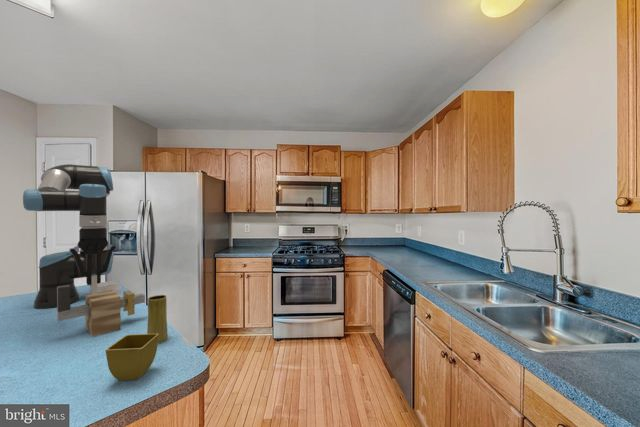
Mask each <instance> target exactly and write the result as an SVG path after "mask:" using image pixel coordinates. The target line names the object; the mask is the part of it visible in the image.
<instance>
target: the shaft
mask: <svg viewBox="0 0 640 427" xmlns="http://www.w3.org/2000/svg"><path fill="white" fill-rule="evenodd" d="M145 299H146V296H145V294H144V293H139V294H134V300H135V306H136V305H139V304H145V302H146V300H145ZM126 306H128V299H127V298H125V297H123V296H122V297H120V309H121V308H123V307H126ZM86 315H90V305H89V304H86V303H85V304H82V305H77V306H71V304H70V285H63V286H57V307H56V317H57V321H58V322H62V321H66V320H70V319H71V320H72V319H76V318H80V317H84V316H85V317H86Z"/></svg>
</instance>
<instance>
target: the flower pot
mask: <svg viewBox="0 0 640 427" xmlns="http://www.w3.org/2000/svg"><path fill="white" fill-rule="evenodd" d="M158 337H159V334H147V333H139V334H138V333H136V334H126V335H124V336H123V337H121V338H120V339H118V340H117V341H115V342H114V343H113V344H112V345H110V346H108V347H107V348H106V349H105V355H106V362H107V367H108V370H109V372H110V374H111V375H112V376H113V378H114V379H115V380H117V381H119V382H122V381H138V380H140V379H141V378H142V377H143V376H144V375H145V373H146V372H148V371H149V369H150V368H151V366H152V365H153V362H154V360H155V358H156V356H157V351H158V344H159V343H158Z"/></svg>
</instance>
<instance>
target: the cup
mask: <svg viewBox="0 0 640 427" xmlns="http://www.w3.org/2000/svg"><path fill="white" fill-rule="evenodd" d="M109 290H113V291H114V292H116V293H117V294H118V295H119V296H120V297H121V291H122V287H121V281H120V280H119V281H118V280H110V281H109V280H108V281H103V282H102V281H101V282H100V283H99V284H97V293H98V292H103V291H109Z"/></svg>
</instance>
